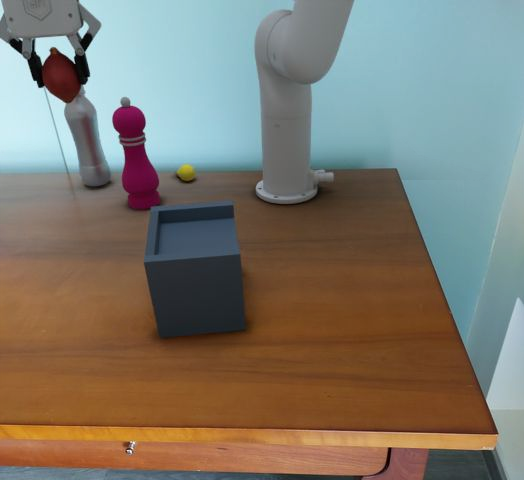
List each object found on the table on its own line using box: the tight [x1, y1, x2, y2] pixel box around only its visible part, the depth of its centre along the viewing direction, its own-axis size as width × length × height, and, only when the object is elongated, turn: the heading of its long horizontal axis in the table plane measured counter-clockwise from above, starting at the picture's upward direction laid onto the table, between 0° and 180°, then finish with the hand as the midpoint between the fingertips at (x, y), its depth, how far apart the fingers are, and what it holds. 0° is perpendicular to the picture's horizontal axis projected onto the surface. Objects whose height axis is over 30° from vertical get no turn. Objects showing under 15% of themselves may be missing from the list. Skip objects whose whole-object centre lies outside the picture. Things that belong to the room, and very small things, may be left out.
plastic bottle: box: [63, 85, 111, 187], centre depth 109 cm, size 6×7×20 cm
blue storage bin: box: [143, 200, 247, 339], centre depth 75 cm, size 12×16×12 cm
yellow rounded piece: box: [174, 163, 196, 182], centre depth 115 cm, size 3×6×4 cm, turn 43°
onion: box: [42, 46, 82, 105], centre depth 82 cm, size 6×6×8 cm
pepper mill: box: [111, 96, 161, 210], centre depth 100 cm, size 7×7×20 cm
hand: (63, 83), depth 82 cm, fingers closed on onion, 5 cm apart
